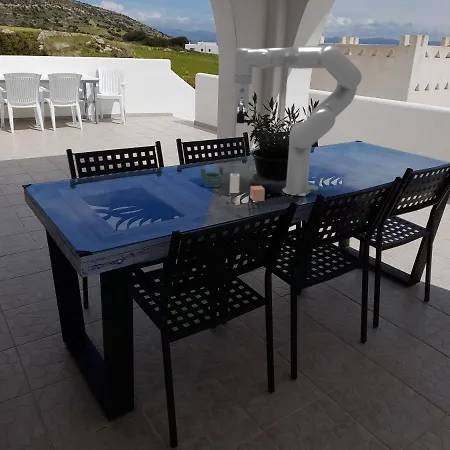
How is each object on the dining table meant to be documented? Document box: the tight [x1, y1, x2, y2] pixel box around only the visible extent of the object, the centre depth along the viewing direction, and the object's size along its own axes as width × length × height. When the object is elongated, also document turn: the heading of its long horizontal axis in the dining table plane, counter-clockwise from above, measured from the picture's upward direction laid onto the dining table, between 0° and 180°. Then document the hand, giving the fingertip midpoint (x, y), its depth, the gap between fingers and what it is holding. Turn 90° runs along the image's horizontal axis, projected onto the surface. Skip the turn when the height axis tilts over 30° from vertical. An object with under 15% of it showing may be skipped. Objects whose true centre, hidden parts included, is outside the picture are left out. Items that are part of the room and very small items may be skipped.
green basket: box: [200, 165, 224, 185], centre depth 206 cm, size 9×9×9 cm
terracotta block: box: [249, 185, 266, 202], centre depth 186 cm, size 5×5×6 cm
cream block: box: [229, 173, 241, 194], centre depth 194 cm, size 4×4×9 cm
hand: (240, 121), depth 189 cm, fingers open, 9 cm apart
